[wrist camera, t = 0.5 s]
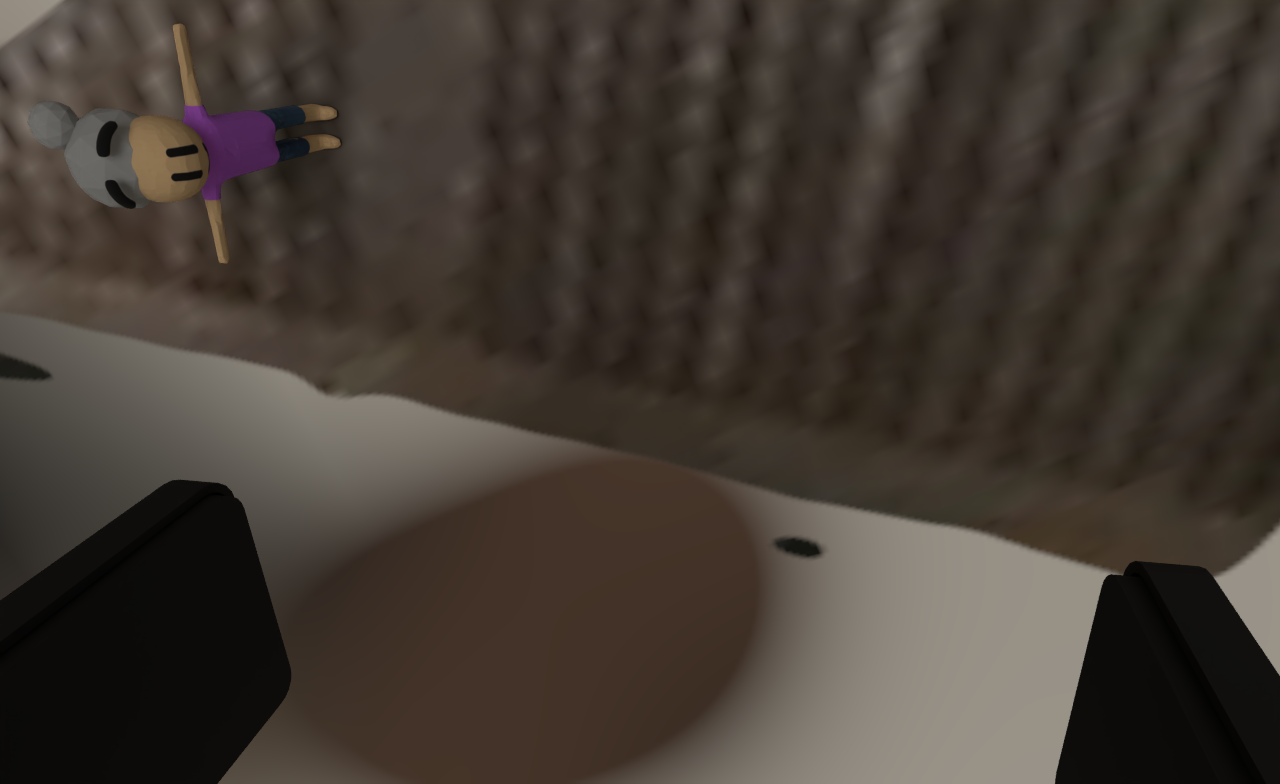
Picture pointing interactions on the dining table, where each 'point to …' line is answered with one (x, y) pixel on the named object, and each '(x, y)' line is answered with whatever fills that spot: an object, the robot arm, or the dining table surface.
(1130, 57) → the dining table surface
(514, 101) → the dining table surface
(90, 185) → the toy
